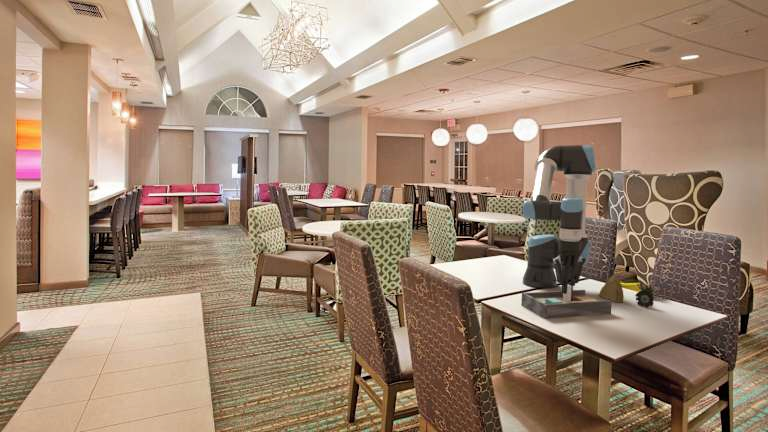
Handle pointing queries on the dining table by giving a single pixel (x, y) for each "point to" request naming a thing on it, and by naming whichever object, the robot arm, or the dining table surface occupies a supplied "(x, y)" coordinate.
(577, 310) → the trap board
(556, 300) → the block
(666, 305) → the dining table surface
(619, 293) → the rock
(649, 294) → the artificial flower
